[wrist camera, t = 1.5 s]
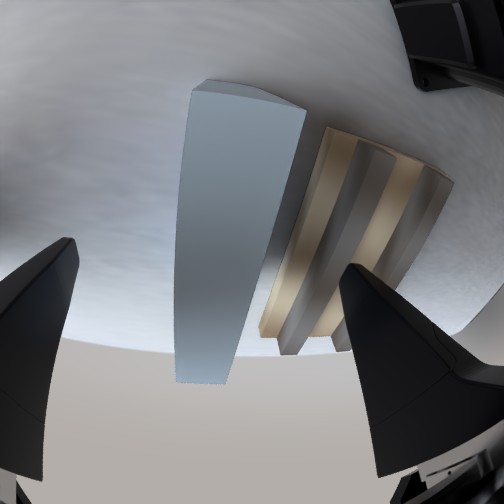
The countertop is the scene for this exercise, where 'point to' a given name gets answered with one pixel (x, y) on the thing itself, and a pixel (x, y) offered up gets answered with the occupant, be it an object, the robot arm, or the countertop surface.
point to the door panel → (226, 217)
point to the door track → (350, 234)
